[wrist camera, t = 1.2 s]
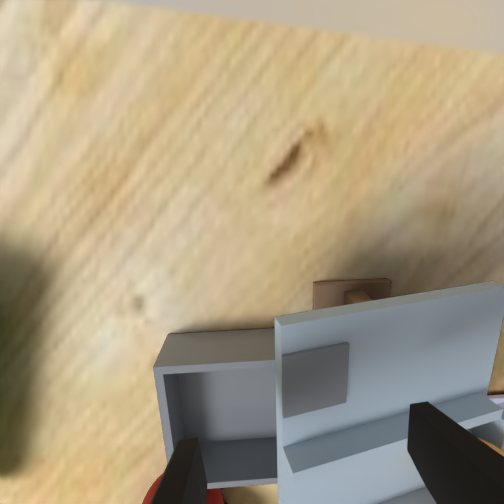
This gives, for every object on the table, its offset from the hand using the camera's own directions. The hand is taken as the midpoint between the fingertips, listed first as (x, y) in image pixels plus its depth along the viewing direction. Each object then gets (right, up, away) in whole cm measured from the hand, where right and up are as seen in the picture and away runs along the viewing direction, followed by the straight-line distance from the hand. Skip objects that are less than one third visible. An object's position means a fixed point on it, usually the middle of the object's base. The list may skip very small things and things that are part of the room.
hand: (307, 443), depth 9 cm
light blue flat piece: (+5, -2, +5) cm, 8 cm away
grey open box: (-3, -4, +11) cm, 12 cm away
